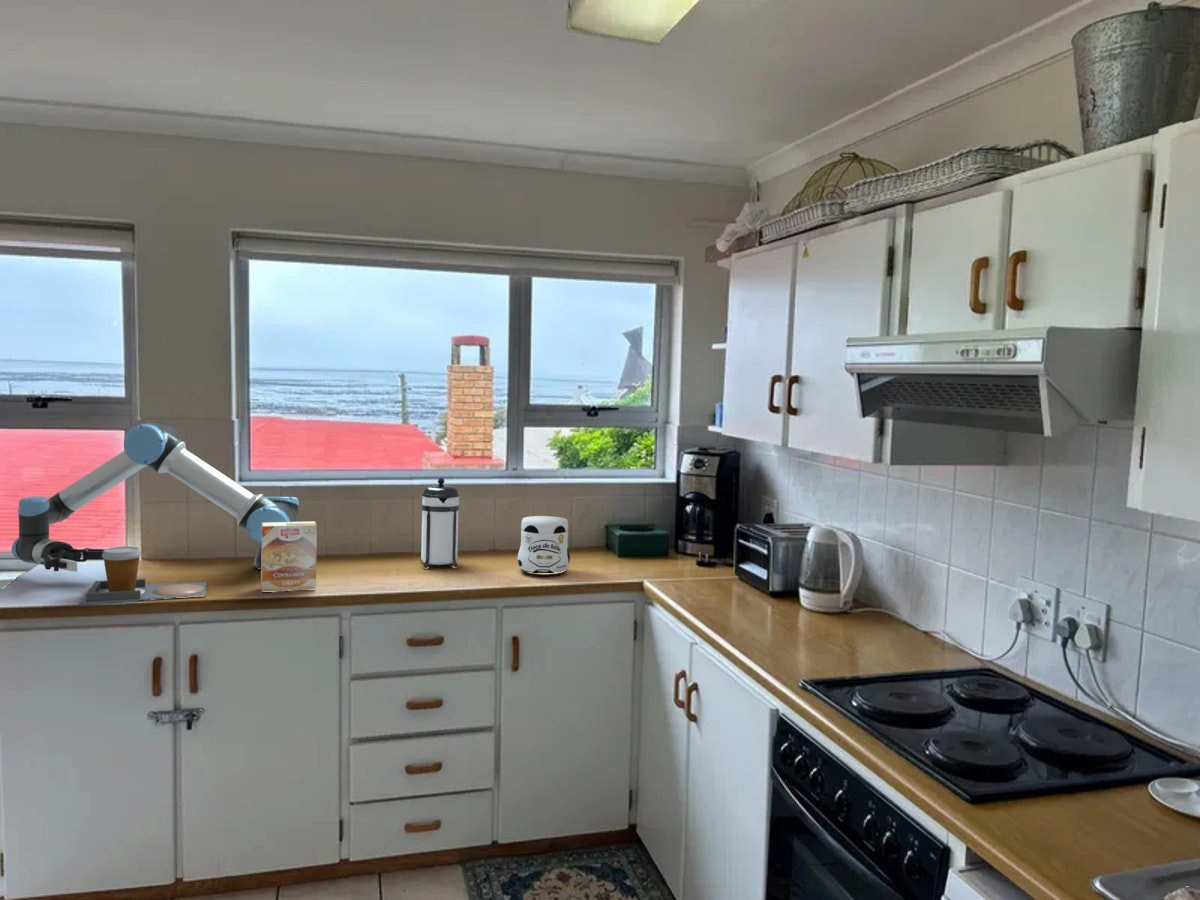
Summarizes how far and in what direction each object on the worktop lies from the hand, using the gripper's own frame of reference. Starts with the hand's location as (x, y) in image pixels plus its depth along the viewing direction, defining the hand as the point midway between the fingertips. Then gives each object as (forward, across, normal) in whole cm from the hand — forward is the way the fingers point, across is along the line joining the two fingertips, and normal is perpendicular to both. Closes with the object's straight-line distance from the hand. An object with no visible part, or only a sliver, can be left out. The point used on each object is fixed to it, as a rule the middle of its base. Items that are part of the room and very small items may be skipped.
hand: (100, 562), depth 239 cm
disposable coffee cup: (+10, 0, -7) cm, 12 cm away
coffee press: (+54, -83, -8) cm, 99 cm away
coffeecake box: (+40, -30, -8) cm, 51 cm away
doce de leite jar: (+90, -94, -8) cm, 130 cm away
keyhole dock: (+14, -5, -8) cm, 16 cm away
